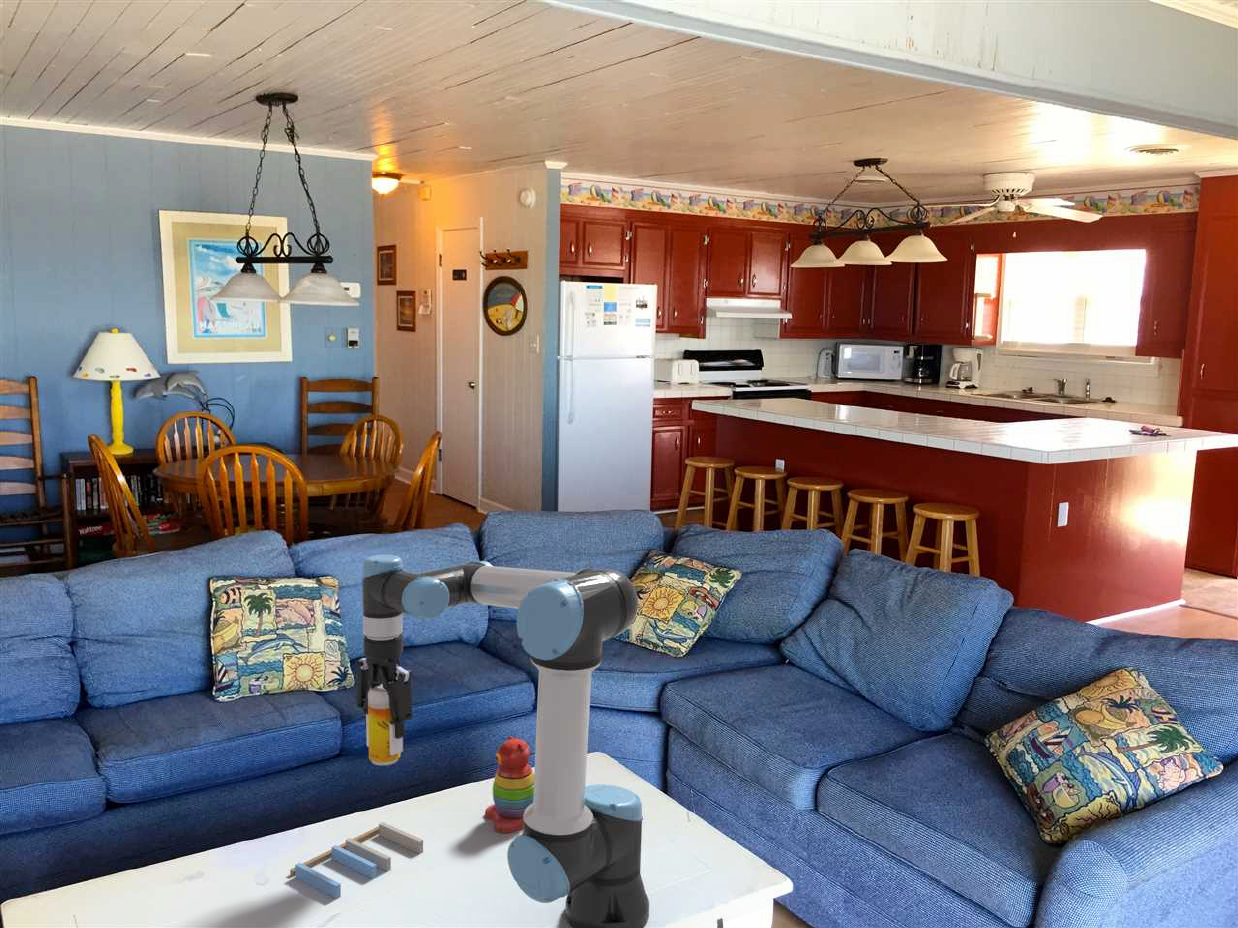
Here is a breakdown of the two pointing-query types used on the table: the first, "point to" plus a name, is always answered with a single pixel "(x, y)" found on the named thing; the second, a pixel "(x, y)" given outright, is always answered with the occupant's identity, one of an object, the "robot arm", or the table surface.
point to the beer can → (379, 727)
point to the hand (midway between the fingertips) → (384, 748)
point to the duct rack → (356, 858)
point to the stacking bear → (511, 786)
